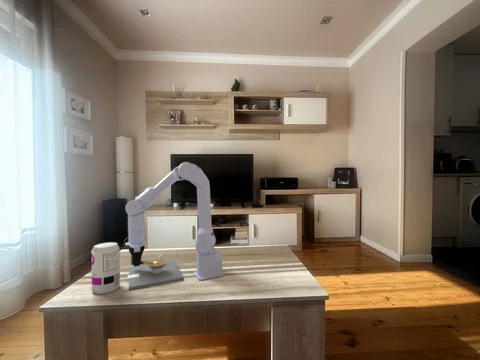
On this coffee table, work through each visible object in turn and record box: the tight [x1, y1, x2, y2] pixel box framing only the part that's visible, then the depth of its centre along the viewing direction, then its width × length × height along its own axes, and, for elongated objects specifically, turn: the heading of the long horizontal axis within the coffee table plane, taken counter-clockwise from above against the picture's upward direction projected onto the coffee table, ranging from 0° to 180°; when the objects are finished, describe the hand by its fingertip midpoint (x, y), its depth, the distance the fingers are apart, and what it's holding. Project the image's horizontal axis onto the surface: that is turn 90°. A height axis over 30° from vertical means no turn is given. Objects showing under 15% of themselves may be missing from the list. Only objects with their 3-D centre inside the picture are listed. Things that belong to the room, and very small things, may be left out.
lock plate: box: [127, 254, 184, 291], centre depth 91 cm, size 18×21×5 cm
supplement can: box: [91, 241, 121, 295], centre depth 79 cm, size 8×8×15 cm
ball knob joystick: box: [130, 256, 166, 268], centre depth 92 cm, size 15×6×3 cm, turn 75°
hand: (136, 265), depth 91 cm, fingers closed, pressing on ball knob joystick
